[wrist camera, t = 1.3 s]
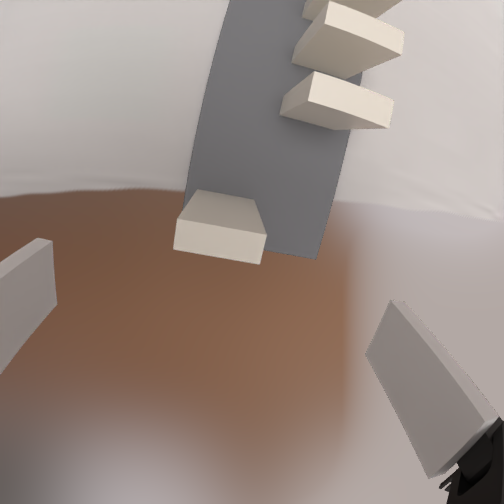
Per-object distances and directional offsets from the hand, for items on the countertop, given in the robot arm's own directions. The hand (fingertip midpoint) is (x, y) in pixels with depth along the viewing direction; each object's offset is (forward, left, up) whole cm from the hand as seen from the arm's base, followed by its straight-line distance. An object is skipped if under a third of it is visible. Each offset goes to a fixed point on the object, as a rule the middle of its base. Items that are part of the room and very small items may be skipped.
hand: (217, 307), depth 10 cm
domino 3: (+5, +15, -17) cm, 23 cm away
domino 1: (0, 0, -17) cm, 17 cm away
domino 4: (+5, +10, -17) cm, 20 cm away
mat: (+3, +14, -17) cm, 22 cm away
